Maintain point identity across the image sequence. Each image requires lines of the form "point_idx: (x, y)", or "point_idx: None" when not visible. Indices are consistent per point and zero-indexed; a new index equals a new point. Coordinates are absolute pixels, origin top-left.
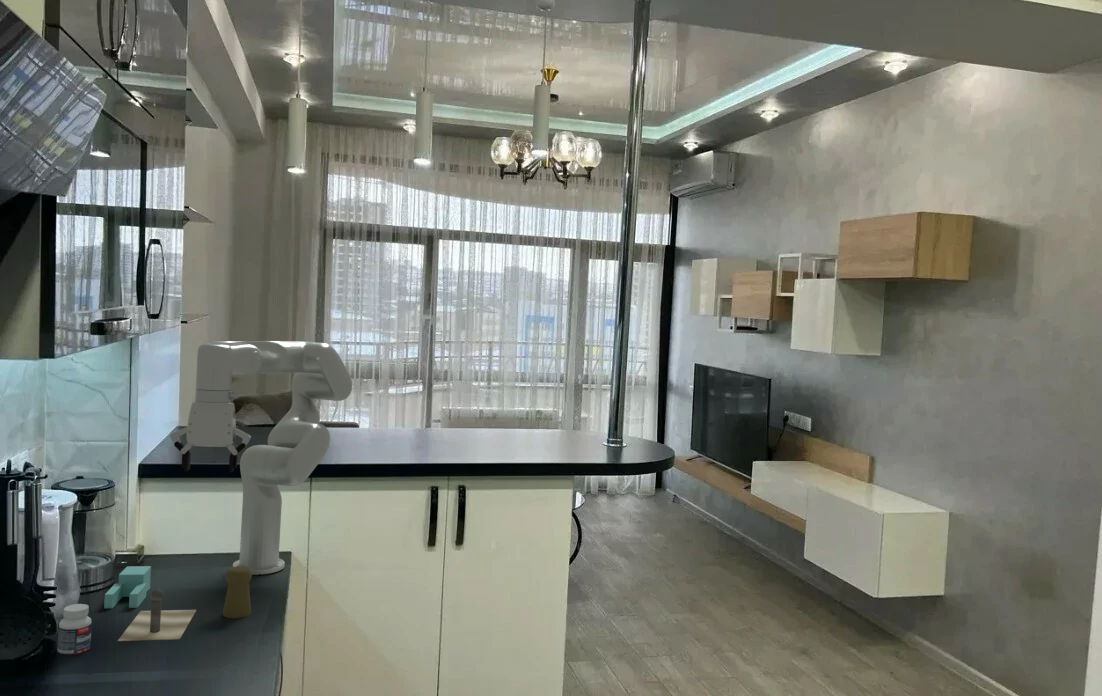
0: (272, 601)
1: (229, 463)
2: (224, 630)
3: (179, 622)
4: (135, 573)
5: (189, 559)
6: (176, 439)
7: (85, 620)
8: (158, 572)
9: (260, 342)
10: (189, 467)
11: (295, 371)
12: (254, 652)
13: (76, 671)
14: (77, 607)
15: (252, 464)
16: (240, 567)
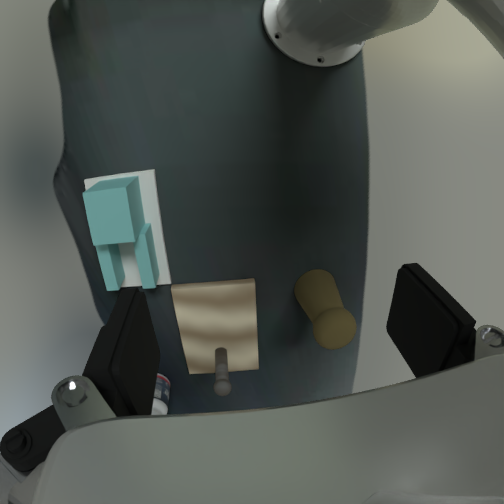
0: (362, 215)
1: (407, 360)
2: (303, 325)
3: (243, 327)
4: (117, 236)
5: None
6: (29, 501)
7: (163, 414)
8: (115, 53)
9: None
10: (145, 312)
11: None
12: (339, 370)
13: (179, 407)
14: None
15: None
16: (341, 337)
